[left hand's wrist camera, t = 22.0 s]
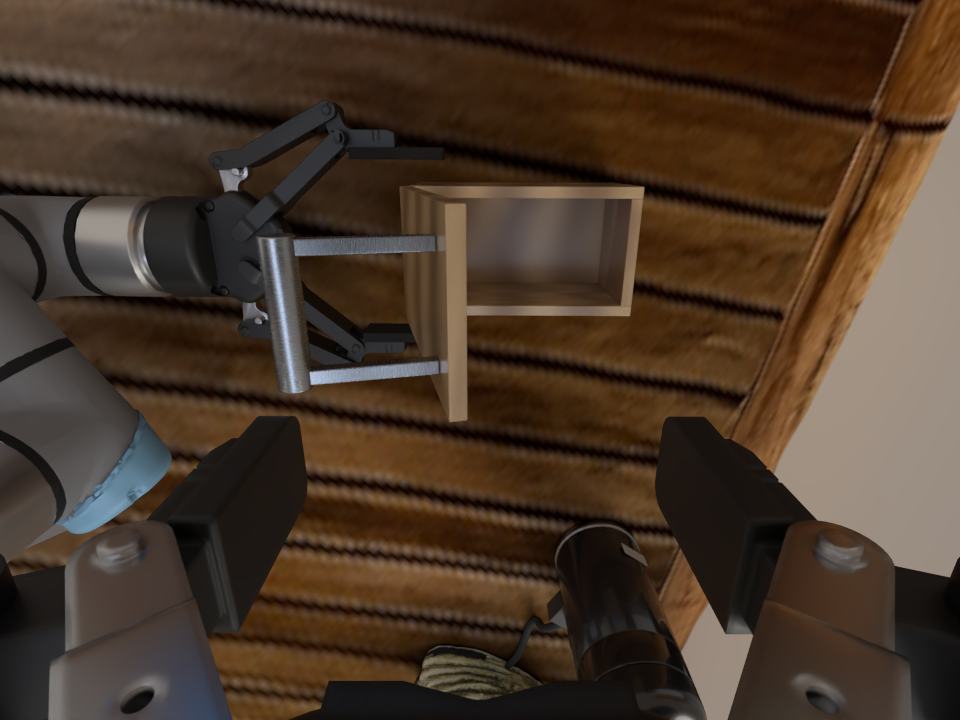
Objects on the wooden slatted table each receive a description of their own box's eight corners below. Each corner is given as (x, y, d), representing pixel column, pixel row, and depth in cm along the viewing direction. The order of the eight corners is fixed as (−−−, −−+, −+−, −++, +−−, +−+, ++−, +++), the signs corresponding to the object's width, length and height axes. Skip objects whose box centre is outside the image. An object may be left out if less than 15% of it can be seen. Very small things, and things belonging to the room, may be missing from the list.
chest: (613, 182, 44) (644, 186, 36) (603, 289, 47) (630, 316, 39) (420, 181, 44) (406, 185, 36) (424, 288, 47) (412, 315, 39)
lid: (466, 203, 20) (238, 206, 18) (467, 420, 23) (275, 442, 21) (411, 186, 35) (287, 186, 33) (417, 316, 38) (304, 324, 37)
